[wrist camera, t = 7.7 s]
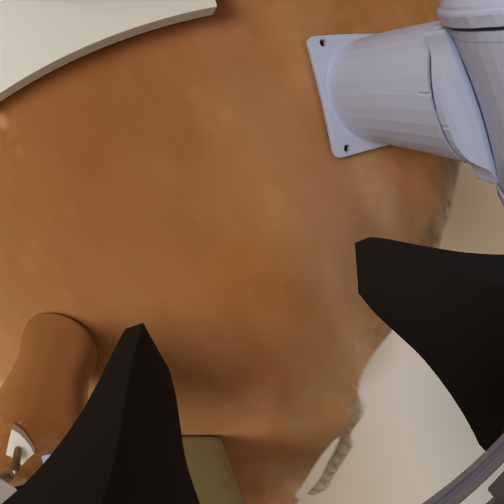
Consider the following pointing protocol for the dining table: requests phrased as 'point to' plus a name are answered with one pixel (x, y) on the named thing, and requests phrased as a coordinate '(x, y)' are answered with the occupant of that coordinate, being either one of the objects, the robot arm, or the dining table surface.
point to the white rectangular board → (76, 31)
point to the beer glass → (42, 395)
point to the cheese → (211, 471)
